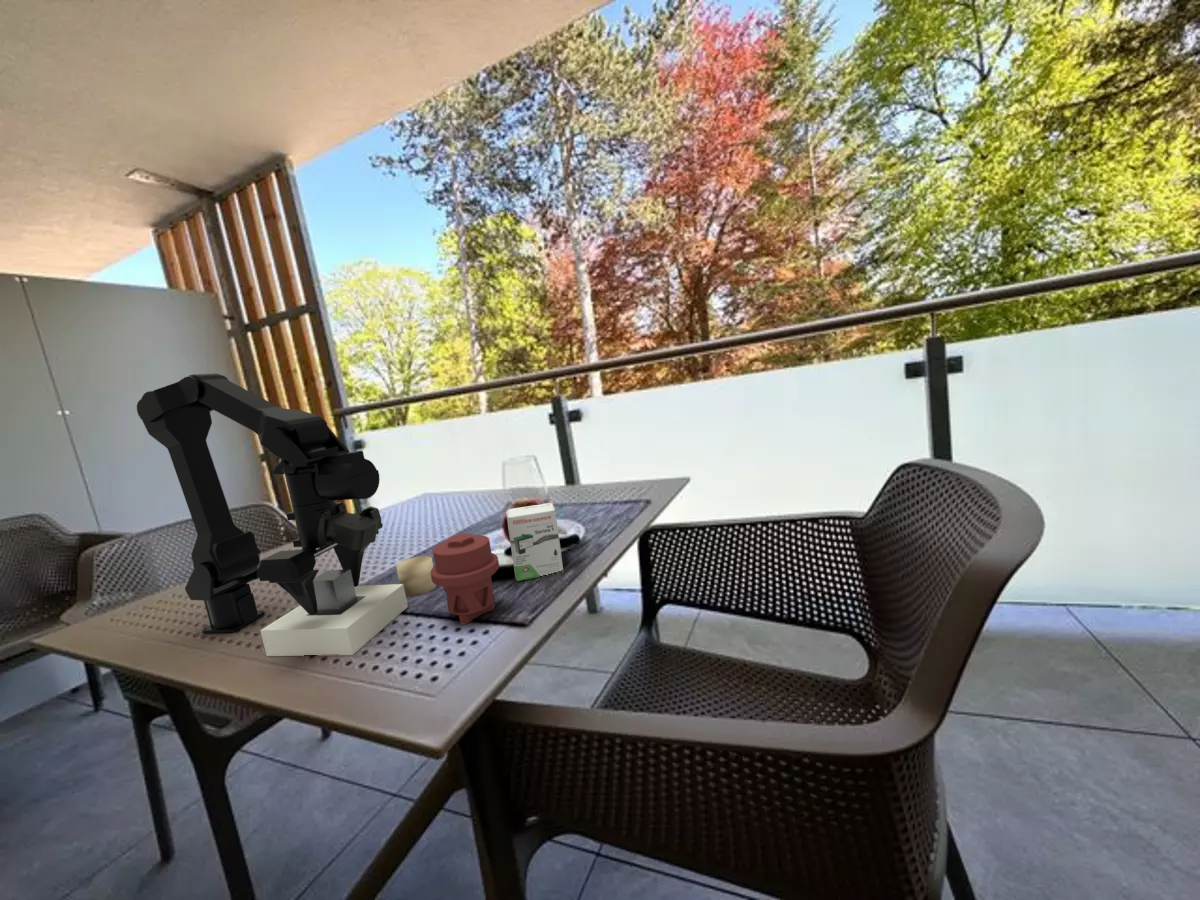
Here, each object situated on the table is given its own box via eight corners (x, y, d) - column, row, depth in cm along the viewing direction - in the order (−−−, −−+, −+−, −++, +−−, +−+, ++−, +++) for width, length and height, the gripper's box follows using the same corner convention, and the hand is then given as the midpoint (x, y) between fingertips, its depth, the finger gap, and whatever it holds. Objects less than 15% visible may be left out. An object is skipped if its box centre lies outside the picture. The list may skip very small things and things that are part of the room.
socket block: (266, 656, 73) (260, 630, 73) (333, 609, 87) (328, 587, 86) (352, 655, 70) (346, 628, 70) (407, 606, 84) (403, 583, 83)
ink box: (516, 582, 89) (505, 516, 87) (514, 571, 93) (504, 509, 92) (564, 572, 90) (555, 508, 88) (561, 562, 95) (552, 501, 93)
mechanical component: (515, 597, 82) (490, 630, 73) (458, 599, 84) (427, 631, 75) (503, 524, 80) (476, 547, 71) (445, 528, 82) (411, 551, 73)
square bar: (321, 637, 77) (309, 581, 76) (339, 623, 81) (327, 570, 80) (345, 636, 76) (332, 580, 75) (361, 623, 80) (350, 569, 79)
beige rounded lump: (394, 597, 89) (389, 570, 88) (413, 582, 95) (408, 556, 94) (425, 596, 88) (420, 568, 87) (442, 581, 93) (437, 555, 93)
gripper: (315, 516, 65) (340, 630, 67) (398, 481, 83) (415, 572, 85) (242, 522, 67) (268, 632, 69) (338, 486, 85) (357, 575, 87)
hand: (335, 599), depth 78 cm, fingers open, 9 cm apart
